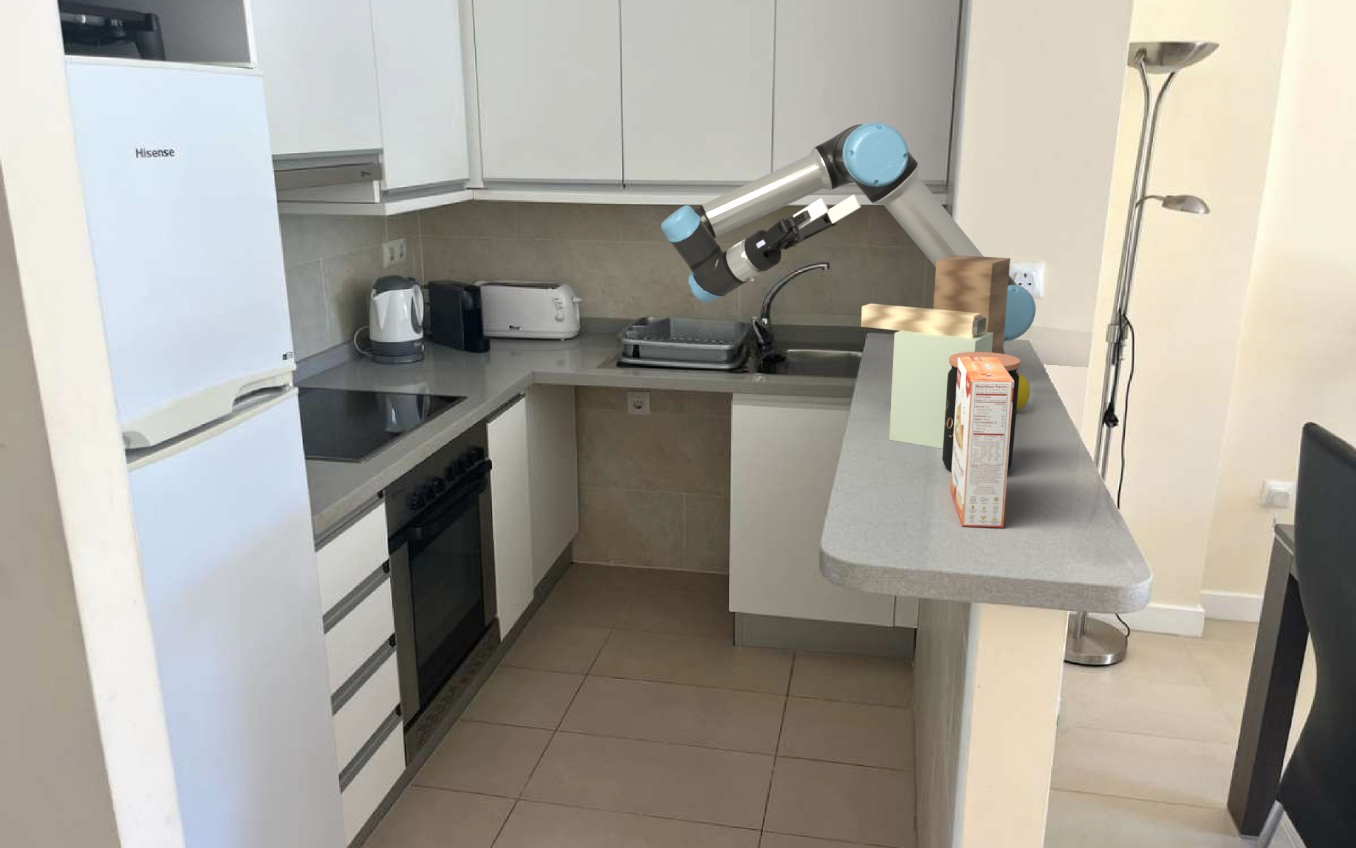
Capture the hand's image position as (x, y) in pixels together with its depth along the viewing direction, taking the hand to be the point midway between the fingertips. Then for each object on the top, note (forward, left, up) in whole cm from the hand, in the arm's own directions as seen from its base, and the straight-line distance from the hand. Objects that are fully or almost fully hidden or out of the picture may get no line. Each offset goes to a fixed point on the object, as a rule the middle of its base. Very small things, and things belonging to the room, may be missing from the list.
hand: (842, 202), depth 185 cm
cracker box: (+31, +47, -40) cm, 69 cm away
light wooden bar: (+5, +21, -21) cm, 30 cm away
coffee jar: (+14, +38, -40) cm, 57 cm away
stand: (-10, +22, -40) cm, 46 cm away
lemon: (-22, +26, -40) cm, 52 cm away
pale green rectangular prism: (+4, +25, -40) cm, 47 cm away
